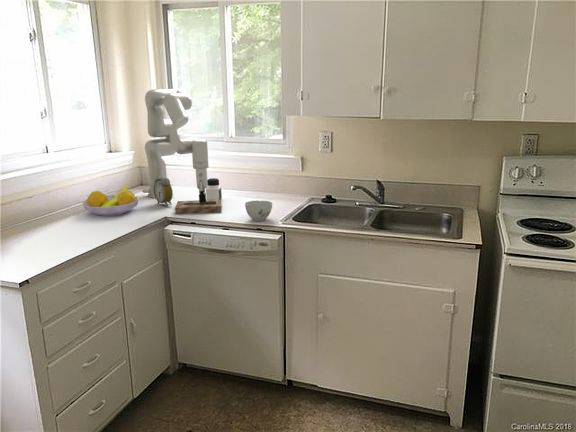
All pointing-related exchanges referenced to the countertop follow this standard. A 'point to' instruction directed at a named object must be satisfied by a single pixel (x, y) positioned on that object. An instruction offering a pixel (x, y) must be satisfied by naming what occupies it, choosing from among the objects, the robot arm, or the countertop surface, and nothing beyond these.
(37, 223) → the countertop surface
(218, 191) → the medicine bottle
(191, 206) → the keyhole plate
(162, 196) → the alarm clock
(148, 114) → the robot arm
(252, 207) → the teacup
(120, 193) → the fruit bowl
